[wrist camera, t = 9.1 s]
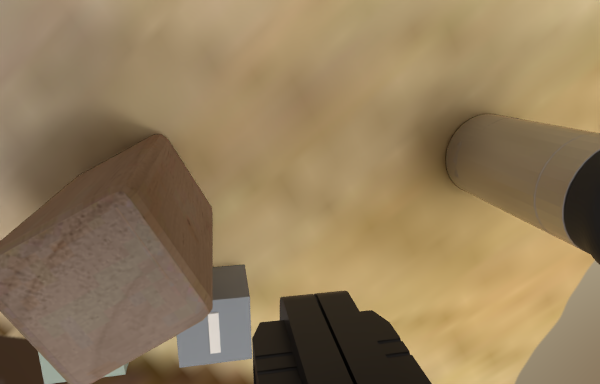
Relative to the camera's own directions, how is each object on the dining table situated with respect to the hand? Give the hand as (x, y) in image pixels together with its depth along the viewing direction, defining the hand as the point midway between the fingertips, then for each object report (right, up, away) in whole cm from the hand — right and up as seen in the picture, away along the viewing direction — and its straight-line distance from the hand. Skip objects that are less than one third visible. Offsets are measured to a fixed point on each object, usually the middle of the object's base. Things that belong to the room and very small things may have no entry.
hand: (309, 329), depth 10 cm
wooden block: (-16, +3, +33) cm, 37 cm away
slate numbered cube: (-10, -8, +38) cm, 40 cm away
